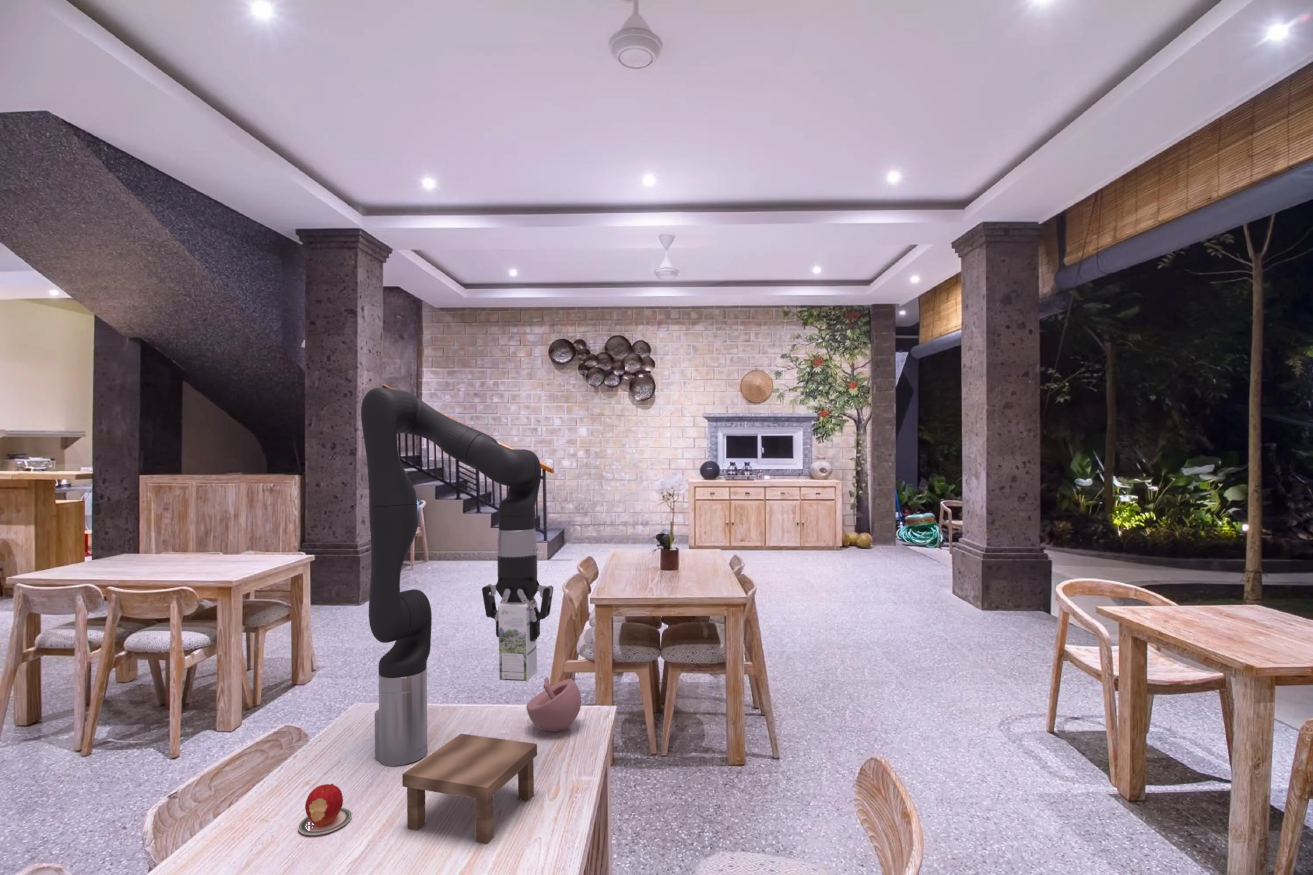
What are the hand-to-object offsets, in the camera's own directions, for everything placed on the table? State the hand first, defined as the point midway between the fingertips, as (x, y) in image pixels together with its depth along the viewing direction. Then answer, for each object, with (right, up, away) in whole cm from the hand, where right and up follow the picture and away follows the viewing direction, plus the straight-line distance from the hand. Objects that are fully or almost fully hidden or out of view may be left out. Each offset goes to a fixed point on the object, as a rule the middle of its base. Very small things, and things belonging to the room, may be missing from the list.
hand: (518, 639), depth 124 cm
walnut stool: (-5, -25, -14) cm, 29 cm away
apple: (-29, -26, -17) cm, 42 cm away
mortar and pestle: (+4, -26, +19) cm, 32 cm away
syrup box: (0, -7, 0) cm, 7 cm away
